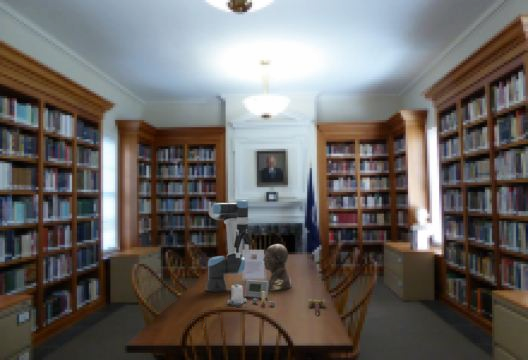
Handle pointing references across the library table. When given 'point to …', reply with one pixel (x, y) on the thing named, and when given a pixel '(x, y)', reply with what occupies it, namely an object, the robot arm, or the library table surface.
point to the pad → (237, 304)
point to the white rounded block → (236, 294)
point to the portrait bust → (277, 267)
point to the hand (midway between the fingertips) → (242, 255)
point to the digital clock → (256, 288)
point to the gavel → (316, 305)
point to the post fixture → (263, 299)
